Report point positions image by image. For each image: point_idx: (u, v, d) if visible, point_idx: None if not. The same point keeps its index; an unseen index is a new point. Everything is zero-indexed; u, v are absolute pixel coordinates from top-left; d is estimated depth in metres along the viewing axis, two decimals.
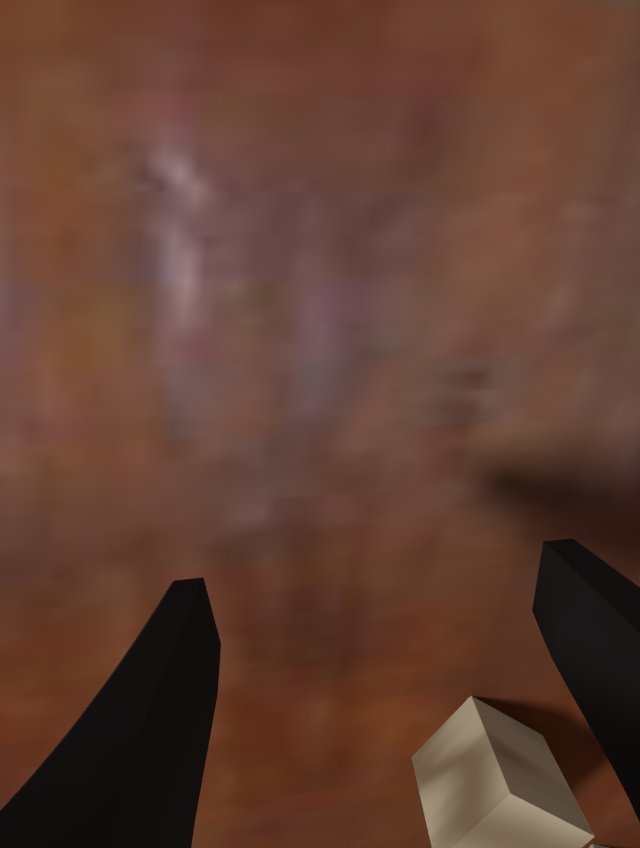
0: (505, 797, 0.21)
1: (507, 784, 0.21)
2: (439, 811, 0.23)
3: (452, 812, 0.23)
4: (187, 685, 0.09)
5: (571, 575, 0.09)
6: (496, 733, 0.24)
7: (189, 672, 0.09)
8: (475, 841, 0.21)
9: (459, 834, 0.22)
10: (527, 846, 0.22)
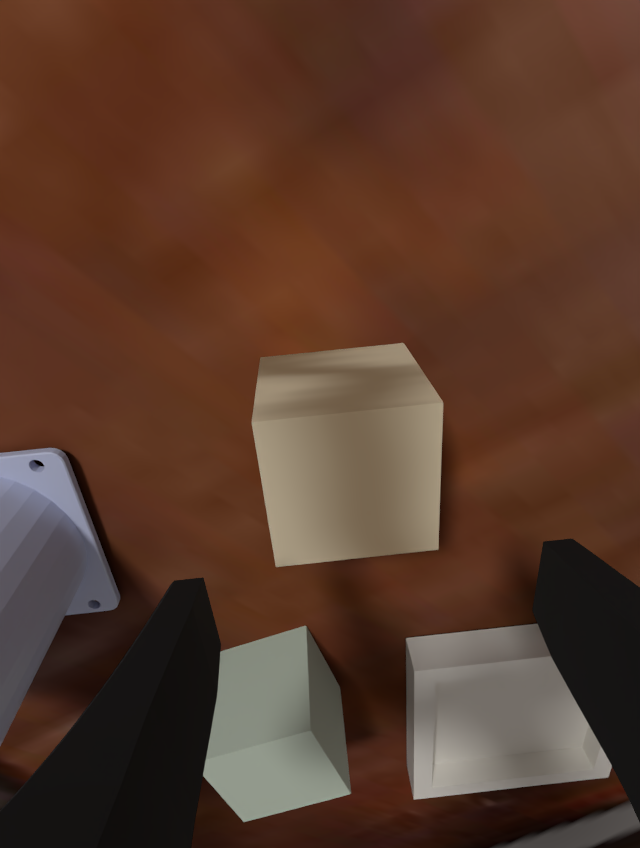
0: (431, 403, 0.13)
1: (438, 398, 0.13)
2: (288, 393, 0.14)
3: (314, 397, 0.14)
4: (187, 685, 0.09)
5: (571, 575, 0.09)
6: None
7: (189, 672, 0.09)
8: (330, 435, 0.13)
9: (318, 411, 0.13)
10: (368, 499, 0.14)
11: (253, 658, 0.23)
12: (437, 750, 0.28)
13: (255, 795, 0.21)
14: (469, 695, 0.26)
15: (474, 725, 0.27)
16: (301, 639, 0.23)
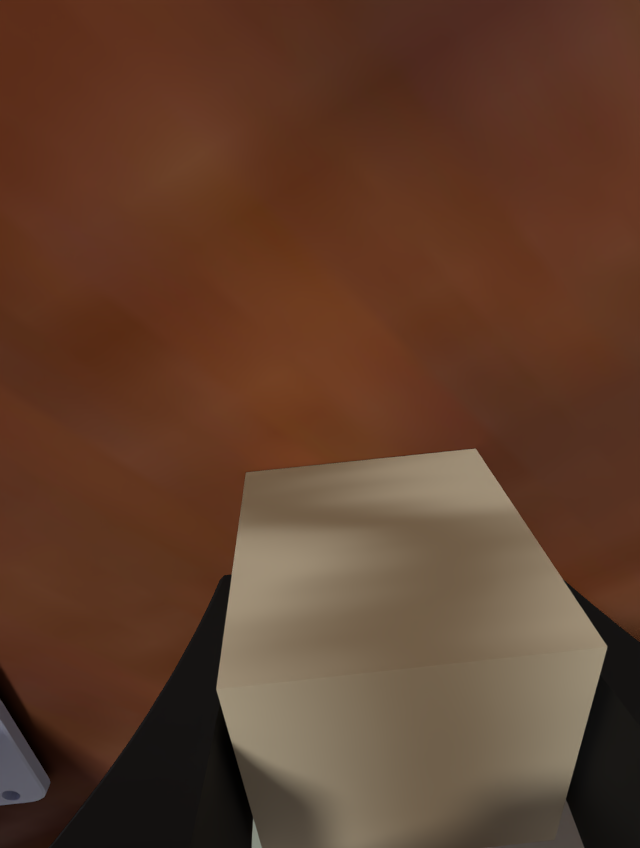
0: (582, 648, 0.06)
1: (589, 624, 0.07)
2: (291, 585, 0.08)
3: (341, 603, 0.07)
4: None
5: None
6: None
7: None
8: (376, 702, 0.07)
9: (350, 658, 0.06)
10: (440, 785, 0.08)
11: None
12: None
13: None
14: None
15: None
16: None
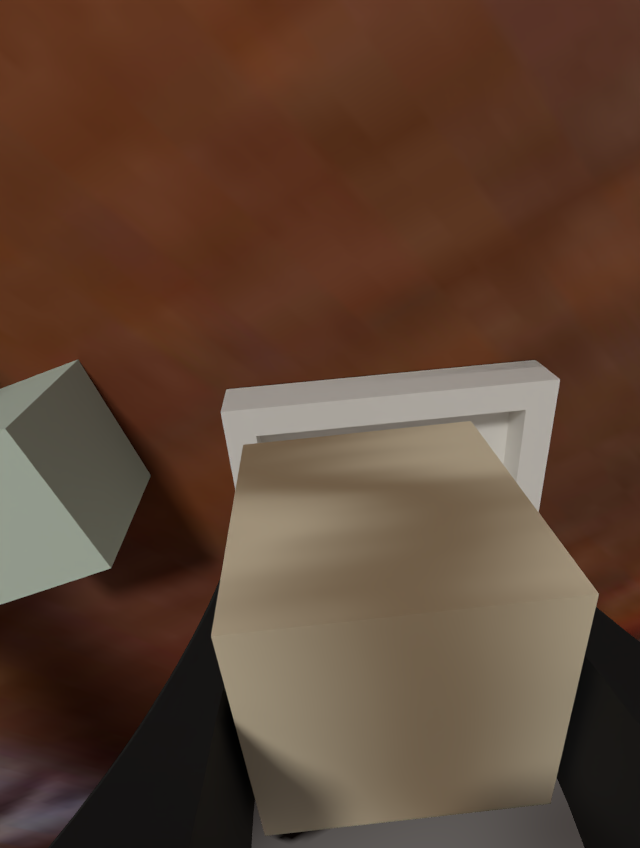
0: (573, 595, 0.06)
1: (580, 574, 0.07)
2: (287, 543, 0.08)
3: (335, 559, 0.07)
4: None
5: None
6: None
7: None
8: (370, 652, 0.07)
9: (345, 607, 0.07)
10: (434, 743, 0.08)
11: None
12: None
13: None
14: None
15: None
16: (63, 369, 0.16)
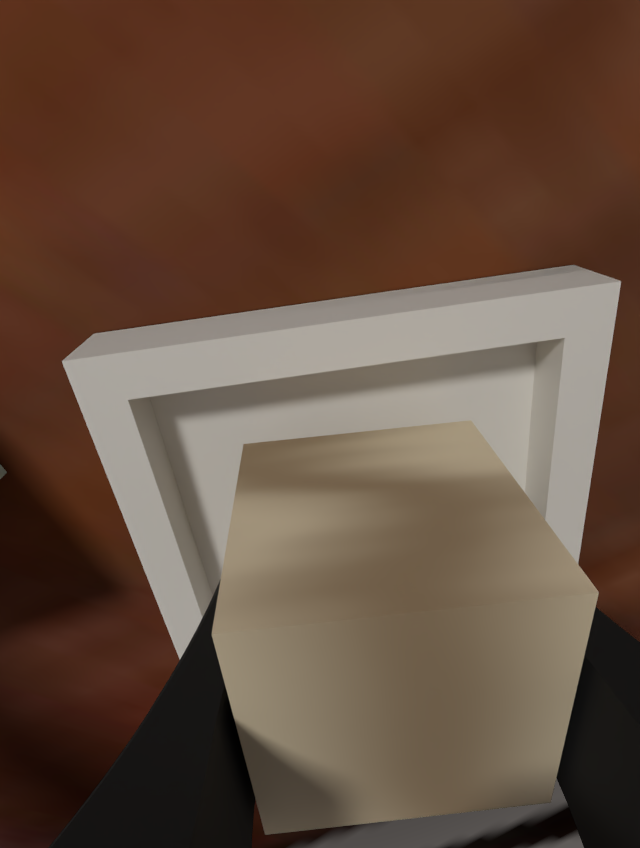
0: (574, 593, 0.06)
1: (582, 573, 0.07)
2: (287, 542, 0.08)
3: (335, 557, 0.07)
4: None
5: None
6: None
7: None
8: (370, 650, 0.07)
9: (345, 606, 0.07)
10: (434, 741, 0.08)
11: None
12: None
13: None
14: None
15: None
16: None
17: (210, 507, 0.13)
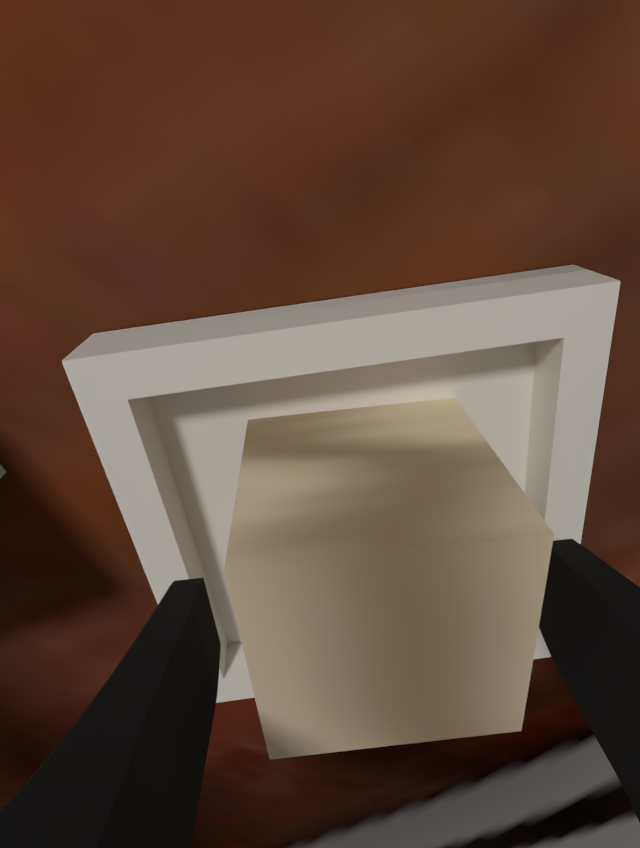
0: (533, 535, 0.07)
1: (541, 521, 0.08)
2: (288, 499, 0.09)
3: (330, 510, 0.08)
4: (187, 686, 0.09)
5: (571, 575, 0.09)
6: None
7: (189, 672, 0.09)
8: (360, 586, 0.08)
9: (338, 547, 0.08)
10: (417, 671, 0.09)
11: None
12: None
13: None
14: None
15: None
16: None
17: (210, 507, 0.13)
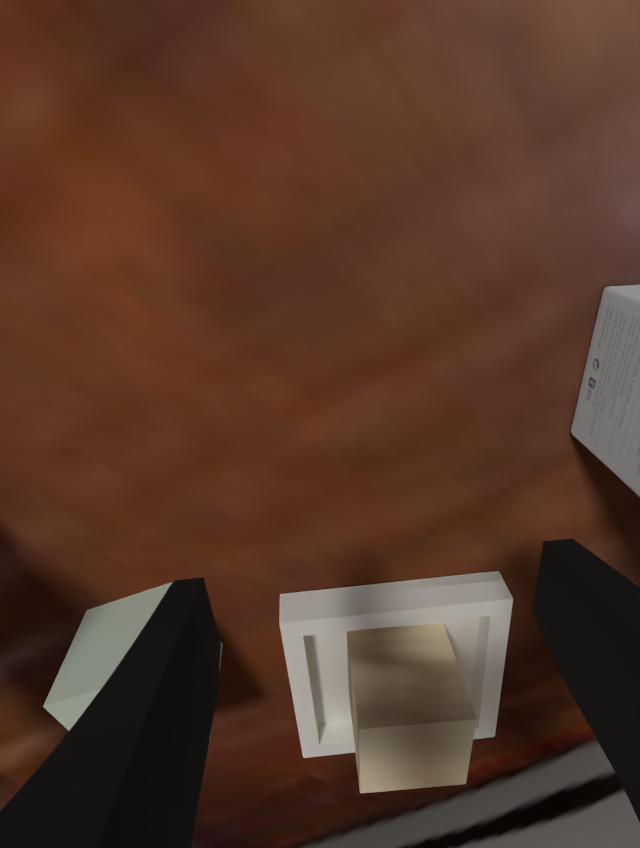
0: (468, 719, 0.21)
1: (472, 711, 0.21)
2: (375, 691, 0.22)
3: (393, 700, 0.22)
4: (187, 685, 0.09)
5: (571, 575, 0.09)
6: None
7: (189, 672, 0.09)
8: (406, 734, 0.21)
9: (399, 720, 0.21)
10: (424, 761, 0.22)
11: (123, 611, 0.23)
12: (327, 709, 0.28)
13: None
14: None
15: None
16: None
17: (321, 664, 0.26)
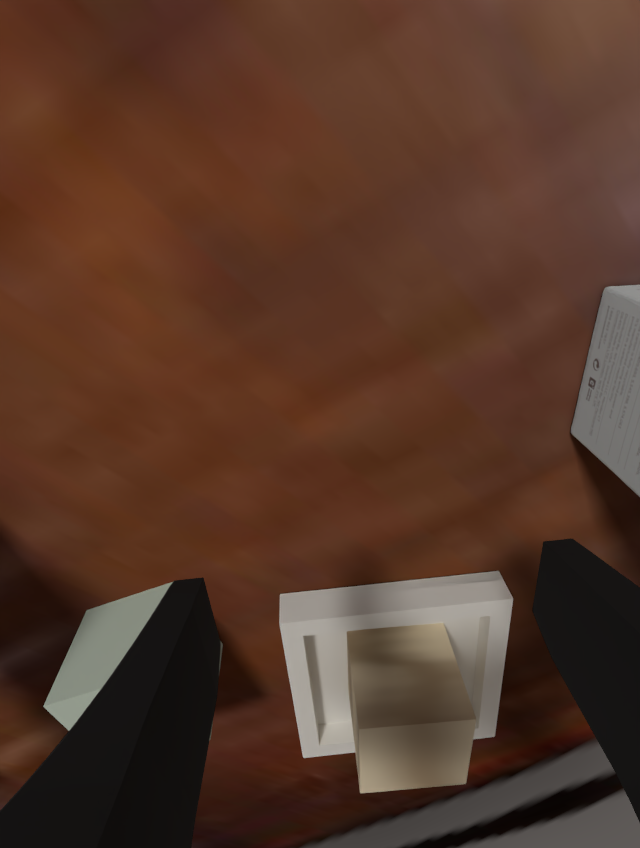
0: (468, 719, 0.21)
1: (472, 711, 0.21)
2: (375, 691, 0.22)
3: (393, 700, 0.22)
4: (187, 685, 0.09)
5: (571, 575, 0.09)
6: None
7: (189, 672, 0.09)
8: (406, 734, 0.21)
9: (399, 720, 0.21)
10: (424, 761, 0.22)
11: (123, 611, 0.23)
12: (327, 709, 0.28)
13: None
14: None
15: None
16: None
17: (321, 664, 0.26)
